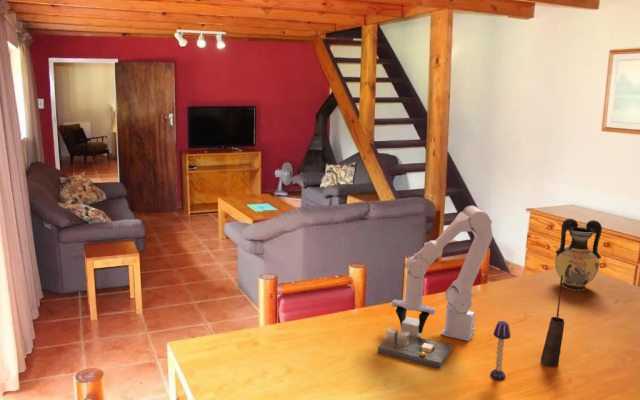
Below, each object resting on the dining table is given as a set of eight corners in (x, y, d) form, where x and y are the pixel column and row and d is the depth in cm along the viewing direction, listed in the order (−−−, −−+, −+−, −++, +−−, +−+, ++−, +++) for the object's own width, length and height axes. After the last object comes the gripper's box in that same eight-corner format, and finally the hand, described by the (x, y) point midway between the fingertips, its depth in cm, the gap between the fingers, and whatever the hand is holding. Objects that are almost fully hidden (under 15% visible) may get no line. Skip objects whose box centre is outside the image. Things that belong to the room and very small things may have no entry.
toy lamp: (487, 371, 164) (492, 319, 160) (502, 371, 164) (507, 319, 161) (493, 380, 159) (498, 326, 155) (509, 380, 159) (514, 326, 156)
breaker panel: (451, 350, 176) (452, 335, 175) (440, 368, 165) (441, 351, 164) (392, 336, 185) (392, 321, 184) (377, 352, 174) (378, 336, 173)
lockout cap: (422, 332, 189) (422, 320, 188) (416, 338, 184) (417, 326, 183) (406, 328, 191) (407, 316, 190) (401, 335, 186) (401, 322, 185)
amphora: (556, 292, 229) (565, 222, 223) (547, 278, 245) (554, 213, 239) (602, 296, 226) (611, 225, 220) (589, 282, 242) (598, 215, 236)
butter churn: (565, 375, 162) (576, 286, 157) (531, 366, 167) (541, 279, 162) (569, 363, 170) (580, 277, 164) (537, 354, 175) (546, 270, 169)
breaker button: (433, 353, 174) (433, 345, 173) (430, 357, 171) (430, 348, 170) (423, 351, 175) (424, 342, 174) (420, 355, 172) (421, 346, 172)
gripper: (389, 291, 184) (387, 329, 187) (431, 300, 178) (429, 339, 181) (396, 285, 190) (394, 322, 193) (437, 293, 184) (435, 331, 187)
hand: (411, 330), depth 187 cm, fingers closed on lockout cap, 6 cm apart
